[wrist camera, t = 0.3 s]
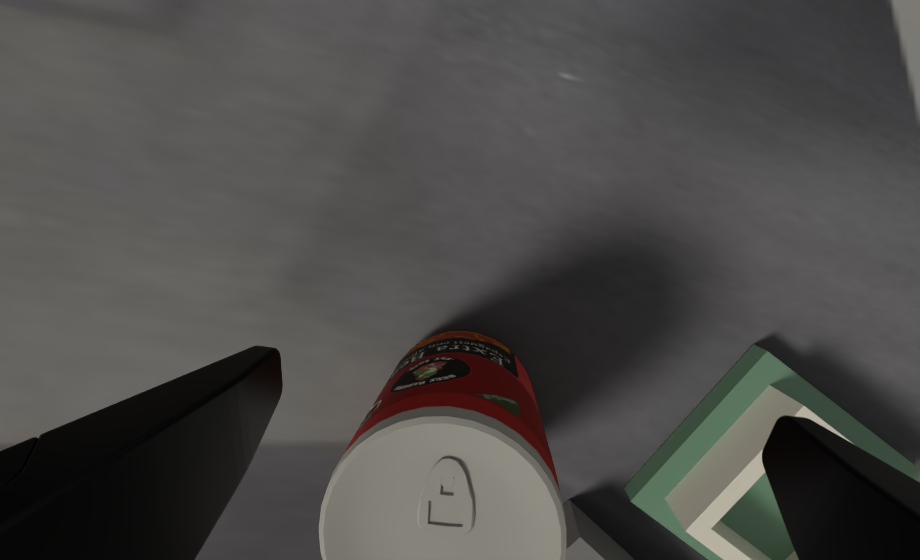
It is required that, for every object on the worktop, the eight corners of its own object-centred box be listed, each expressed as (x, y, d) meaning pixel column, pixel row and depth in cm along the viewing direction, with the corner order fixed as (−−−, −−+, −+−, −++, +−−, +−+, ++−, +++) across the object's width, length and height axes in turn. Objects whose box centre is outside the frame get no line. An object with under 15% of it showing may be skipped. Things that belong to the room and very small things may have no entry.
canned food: (517, 313, 24) (542, 393, 13) (546, 456, 25) (592, 641, 14) (374, 341, 25) (285, 440, 14) (408, 480, 26) (349, 674, 15)
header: (768, 596, 25) (815, 660, 22) (623, 487, 25) (646, 534, 21) (904, 461, 24) (980, 505, 20) (753, 344, 24) (802, 367, 20)
